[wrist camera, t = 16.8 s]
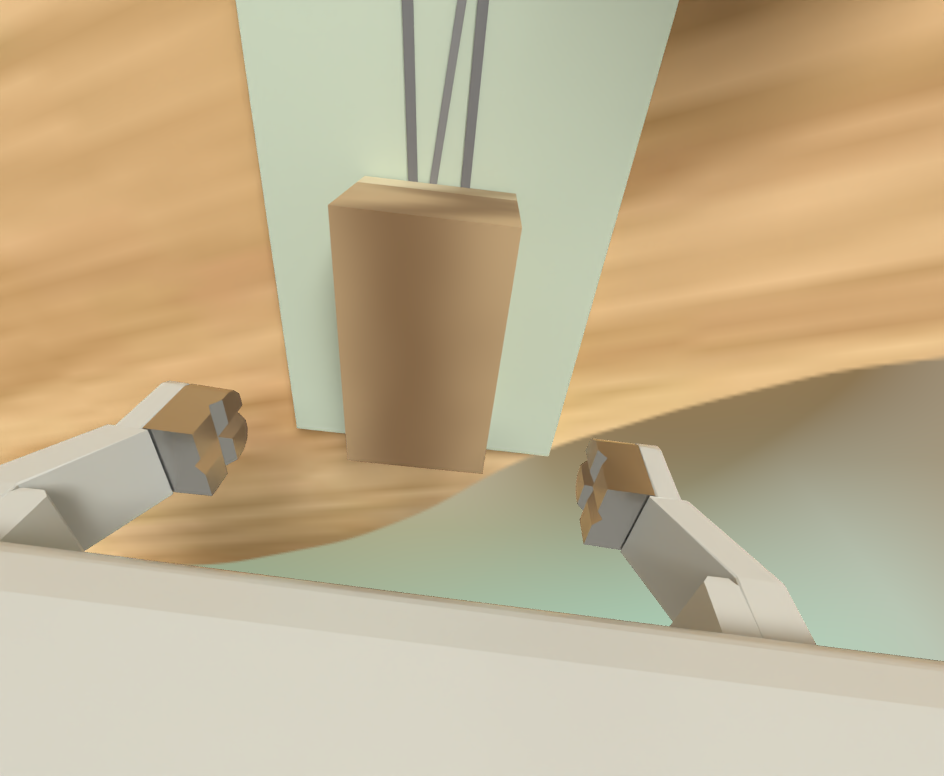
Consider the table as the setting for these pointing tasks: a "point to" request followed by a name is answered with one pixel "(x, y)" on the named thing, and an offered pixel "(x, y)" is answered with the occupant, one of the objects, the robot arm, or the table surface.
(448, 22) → the board
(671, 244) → the table surface
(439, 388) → the block
